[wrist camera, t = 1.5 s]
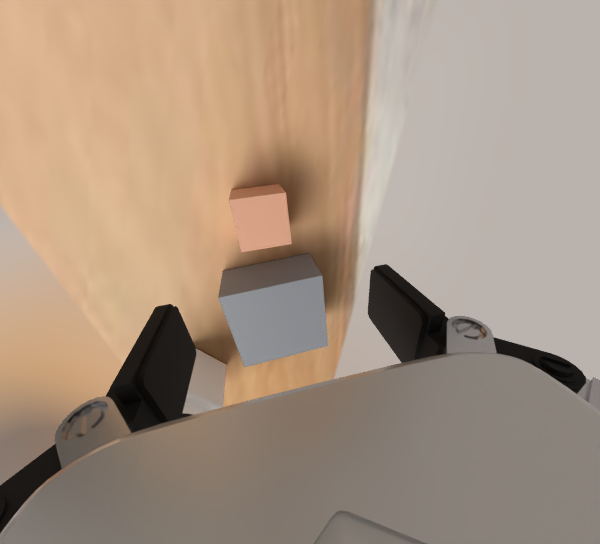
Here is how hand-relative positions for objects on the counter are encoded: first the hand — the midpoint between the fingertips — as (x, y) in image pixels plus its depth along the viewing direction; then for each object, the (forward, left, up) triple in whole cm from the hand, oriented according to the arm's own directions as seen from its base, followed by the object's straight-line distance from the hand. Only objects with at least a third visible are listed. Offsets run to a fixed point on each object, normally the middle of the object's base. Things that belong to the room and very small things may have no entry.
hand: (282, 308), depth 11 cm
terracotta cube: (0, 0, -17) cm, 17 cm away
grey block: (+12, 0, -18) cm, 21 cm away
